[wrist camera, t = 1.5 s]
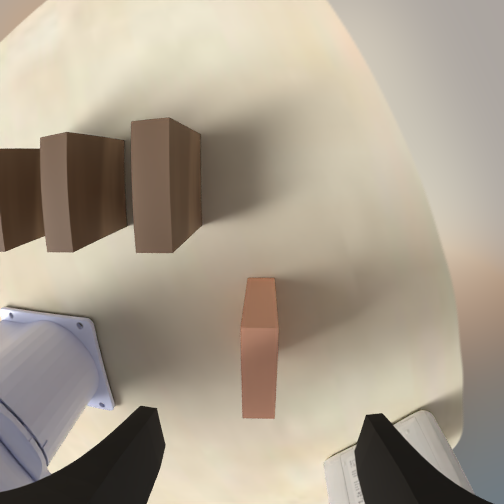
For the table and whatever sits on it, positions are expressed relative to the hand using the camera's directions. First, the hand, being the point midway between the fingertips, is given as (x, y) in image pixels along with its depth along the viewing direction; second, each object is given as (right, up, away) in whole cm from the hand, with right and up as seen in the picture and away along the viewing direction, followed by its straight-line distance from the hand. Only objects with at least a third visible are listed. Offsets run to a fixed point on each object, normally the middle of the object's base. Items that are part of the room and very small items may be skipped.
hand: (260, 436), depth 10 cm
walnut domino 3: (-4, +10, +7) cm, 13 cm away
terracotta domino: (0, +2, +9) cm, 10 cm away
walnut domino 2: (-8, +10, +7) cm, 15 cm away
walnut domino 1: (-13, +10, +8) cm, 18 cm away
